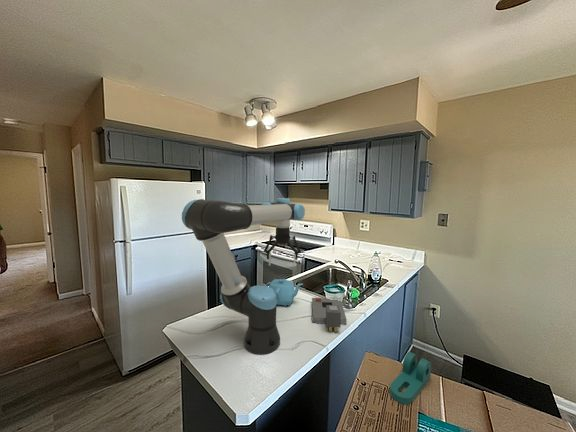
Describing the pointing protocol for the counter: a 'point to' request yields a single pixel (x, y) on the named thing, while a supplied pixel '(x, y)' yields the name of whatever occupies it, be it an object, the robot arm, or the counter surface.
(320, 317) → the socket
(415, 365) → the bracket
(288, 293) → the teapot
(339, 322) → the plug
